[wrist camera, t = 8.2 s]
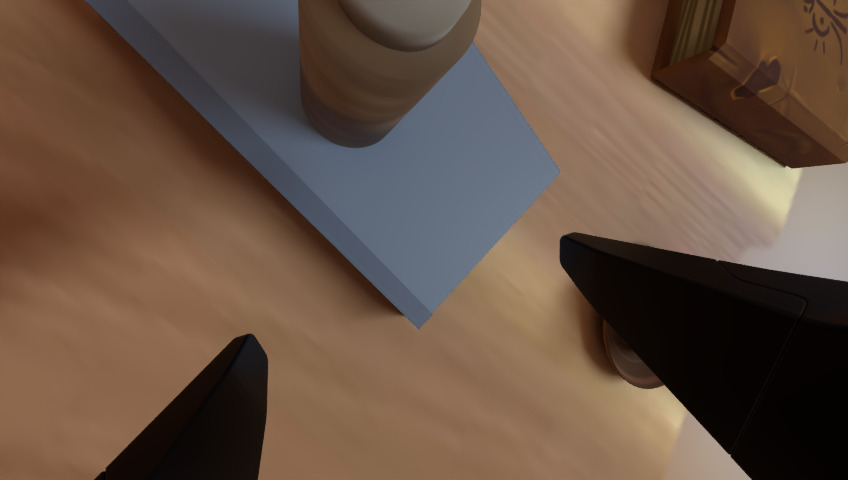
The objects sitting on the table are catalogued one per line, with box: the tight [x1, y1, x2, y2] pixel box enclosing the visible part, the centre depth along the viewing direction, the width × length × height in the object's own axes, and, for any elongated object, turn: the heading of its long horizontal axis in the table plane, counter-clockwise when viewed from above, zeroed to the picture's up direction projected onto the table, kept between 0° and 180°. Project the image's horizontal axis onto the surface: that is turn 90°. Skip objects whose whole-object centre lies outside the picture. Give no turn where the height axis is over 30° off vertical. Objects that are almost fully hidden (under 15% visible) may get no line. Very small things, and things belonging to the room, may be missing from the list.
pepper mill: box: [298, 0, 481, 148], centre depth 12 cm, size 5×5×10 cm
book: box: [85, 0, 561, 329], centre depth 19 cm, size 14×22×3 cm, turn 43°
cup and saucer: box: [603, 319, 664, 389], centre depth 27 cm, size 12×12×6 cm
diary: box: [651, 0, 848, 168], centre depth 30 cm, size 23×19×6 cm
